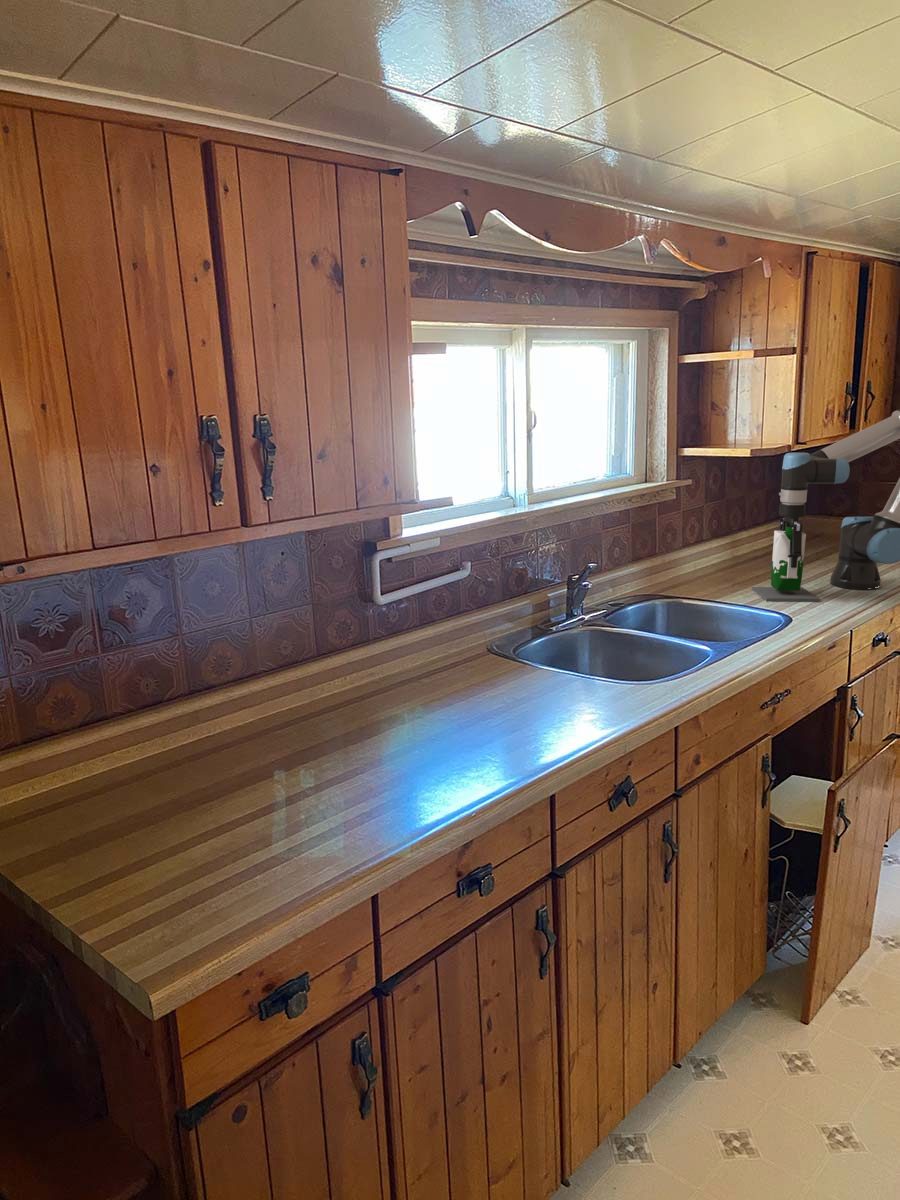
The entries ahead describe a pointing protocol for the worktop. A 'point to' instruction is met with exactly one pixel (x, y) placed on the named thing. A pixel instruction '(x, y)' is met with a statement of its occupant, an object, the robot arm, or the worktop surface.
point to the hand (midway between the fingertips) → (786, 574)
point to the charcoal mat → (785, 595)
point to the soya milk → (785, 562)
